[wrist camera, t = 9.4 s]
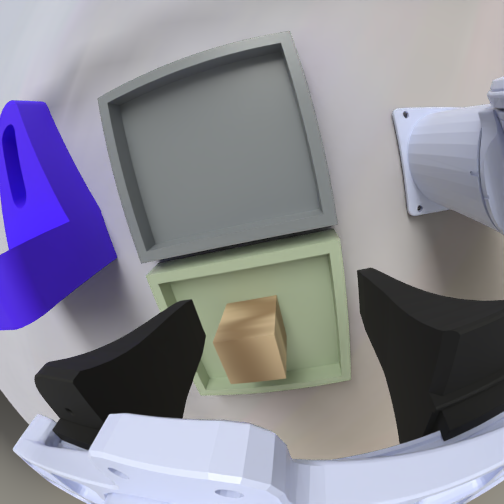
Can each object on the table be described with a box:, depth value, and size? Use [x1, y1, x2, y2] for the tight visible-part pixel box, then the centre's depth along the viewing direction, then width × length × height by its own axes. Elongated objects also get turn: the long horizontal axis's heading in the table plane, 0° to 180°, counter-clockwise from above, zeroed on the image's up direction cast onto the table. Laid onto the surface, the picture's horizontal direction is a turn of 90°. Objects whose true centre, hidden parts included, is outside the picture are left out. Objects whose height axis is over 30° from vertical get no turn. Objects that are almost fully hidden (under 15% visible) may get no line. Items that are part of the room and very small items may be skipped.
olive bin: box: [146, 229, 351, 395], centre depth 22 cm, size 14×13×2 cm
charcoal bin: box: [98, 31, 338, 264], centre depth 17 cm, size 14×13×2 cm
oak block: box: [213, 295, 287, 384], centre depth 20 cm, size 4×4×5 cm
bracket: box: [0, 100, 117, 330], centre depth 15 cm, size 18×11×12 cm, turn 15°
